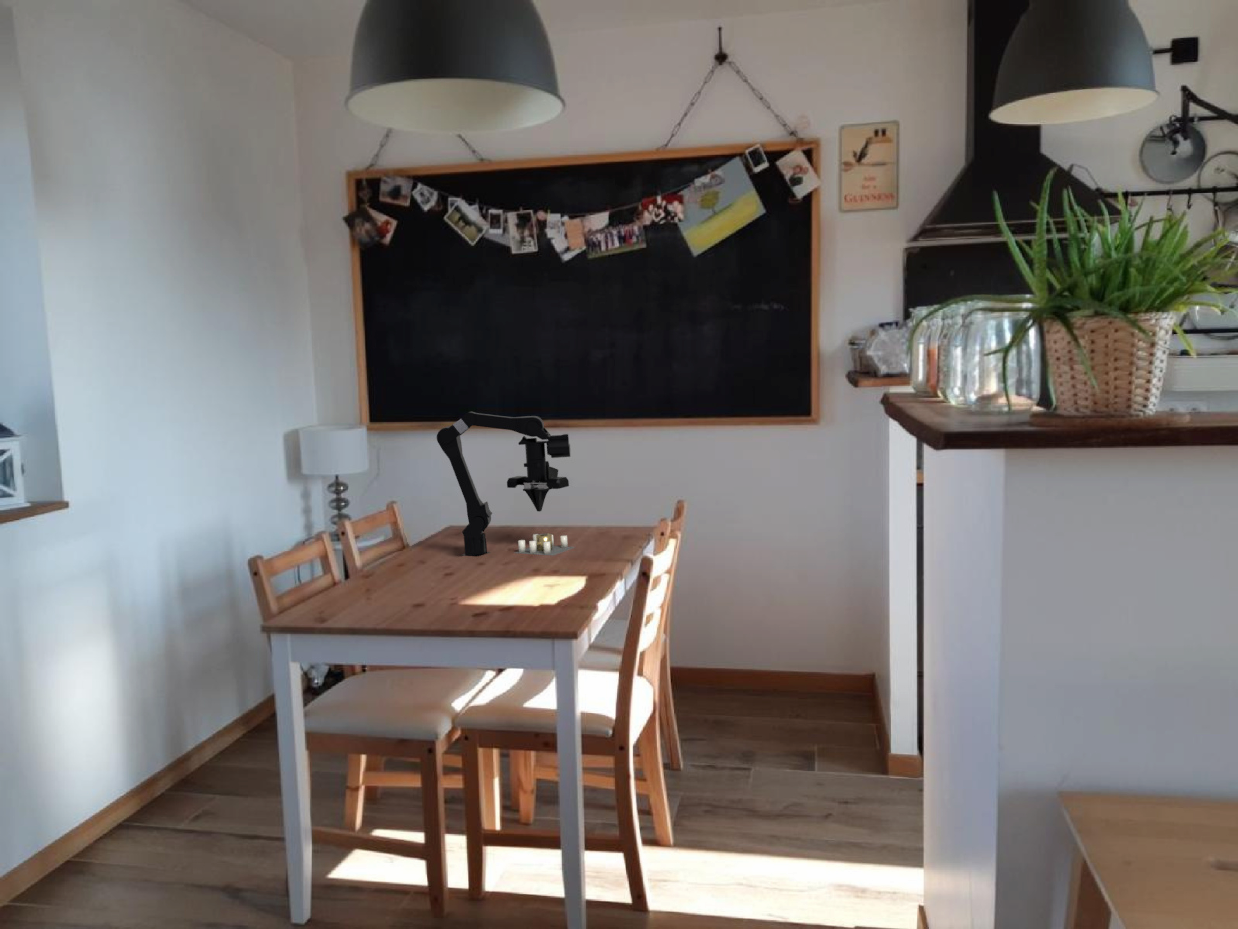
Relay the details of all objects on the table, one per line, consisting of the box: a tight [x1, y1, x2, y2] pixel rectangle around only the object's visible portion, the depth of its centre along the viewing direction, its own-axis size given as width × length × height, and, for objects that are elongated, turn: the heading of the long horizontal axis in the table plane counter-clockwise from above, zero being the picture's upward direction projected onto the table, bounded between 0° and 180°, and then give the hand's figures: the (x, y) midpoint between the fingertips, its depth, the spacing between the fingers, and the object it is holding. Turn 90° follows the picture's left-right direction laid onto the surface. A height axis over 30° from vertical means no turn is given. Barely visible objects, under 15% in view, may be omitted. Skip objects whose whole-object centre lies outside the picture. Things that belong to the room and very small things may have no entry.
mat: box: [514, 545, 576, 557], centre depth 282 cm, size 12×14×1 cm
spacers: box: [517, 533, 569, 556], centre depth 282 cm, size 11×12×4 cm
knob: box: [536, 533, 553, 552], centre depth 281 cm, size 5×5×5 cm
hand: (539, 511), depth 281 cm, fingers closed
